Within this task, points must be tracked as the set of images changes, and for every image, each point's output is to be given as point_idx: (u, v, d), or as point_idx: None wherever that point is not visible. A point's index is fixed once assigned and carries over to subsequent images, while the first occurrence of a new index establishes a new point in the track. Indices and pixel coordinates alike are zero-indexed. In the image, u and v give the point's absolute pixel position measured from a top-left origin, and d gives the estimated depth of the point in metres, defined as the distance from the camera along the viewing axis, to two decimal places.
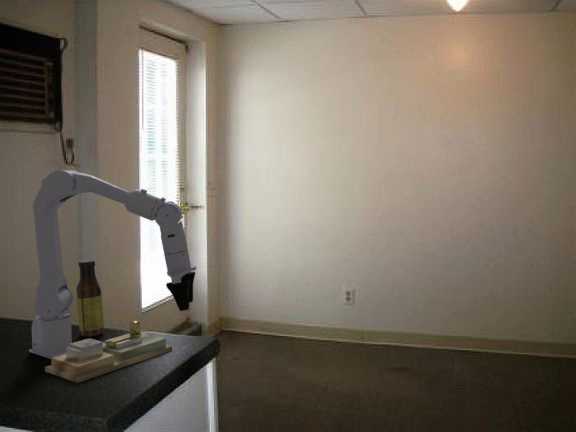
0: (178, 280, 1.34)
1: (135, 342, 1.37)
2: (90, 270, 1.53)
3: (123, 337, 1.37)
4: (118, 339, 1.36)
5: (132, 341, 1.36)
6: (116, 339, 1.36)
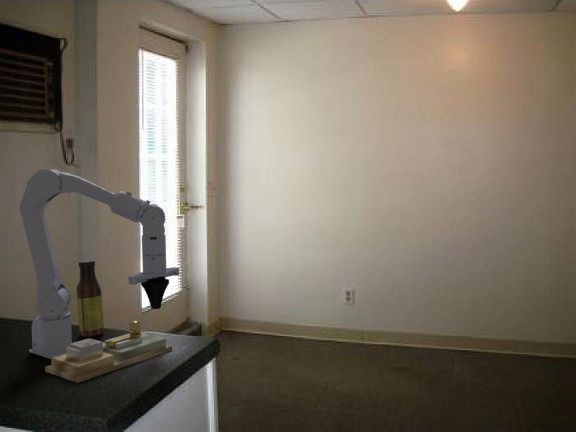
0: (132, 282, 1.38)
1: (135, 342, 1.37)
2: (90, 270, 1.53)
3: (123, 337, 1.37)
4: (118, 339, 1.36)
5: (132, 341, 1.36)
6: (116, 339, 1.36)
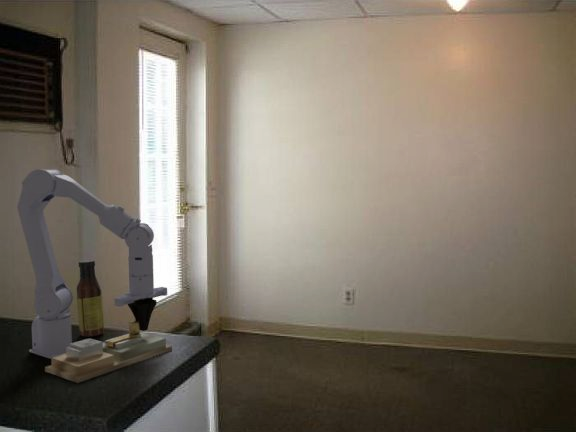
0: (118, 304, 1.35)
1: (135, 342, 1.37)
2: (90, 270, 1.53)
3: (122, 337, 1.37)
4: (117, 339, 1.36)
5: (132, 341, 1.36)
6: (115, 339, 1.36)
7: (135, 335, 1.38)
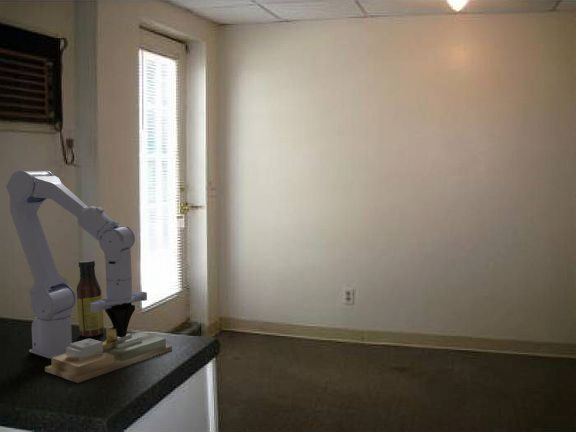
0: (94, 309, 1.29)
1: (135, 342, 1.37)
2: (90, 270, 1.53)
3: None
4: None
5: (132, 341, 1.36)
6: None
7: (112, 342, 1.33)
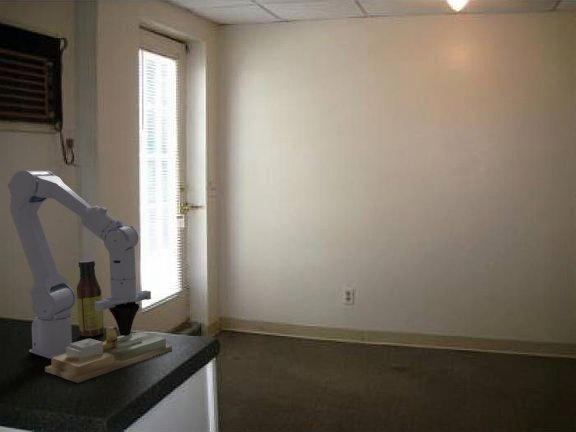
0: (98, 308, 1.30)
1: (135, 342, 1.37)
2: (90, 270, 1.53)
3: None
4: None
5: (132, 341, 1.36)
6: None
7: (112, 342, 1.33)
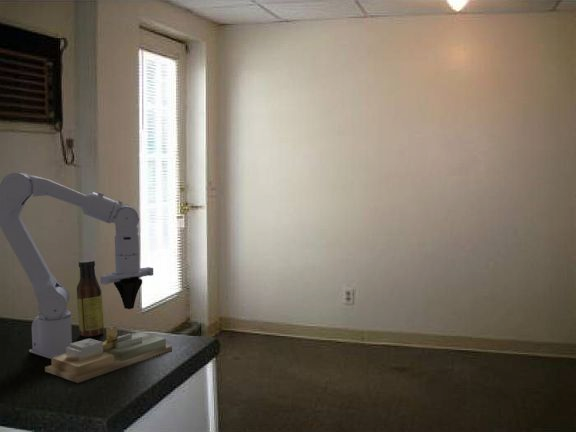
0: (104, 282, 1.38)
1: (135, 342, 1.37)
2: (90, 270, 1.53)
3: None
4: None
5: (132, 341, 1.36)
6: None
7: (112, 342, 1.33)
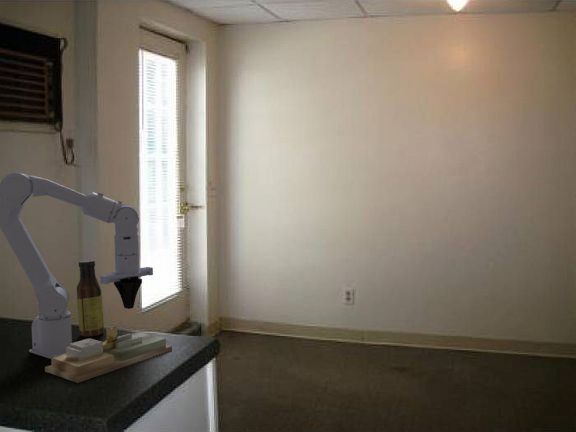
0: (104, 282, 1.38)
1: (135, 342, 1.37)
2: (90, 270, 1.53)
3: None
4: None
5: (132, 341, 1.36)
6: None
7: (112, 342, 1.33)
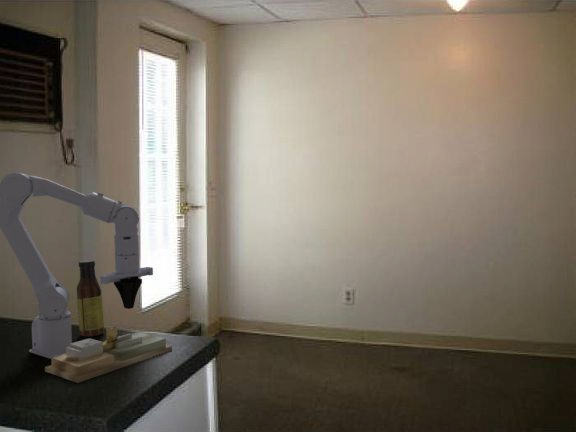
0: (104, 282, 1.38)
1: (135, 342, 1.37)
2: (90, 270, 1.53)
3: None
4: None
5: (132, 341, 1.36)
6: None
7: (112, 342, 1.33)
